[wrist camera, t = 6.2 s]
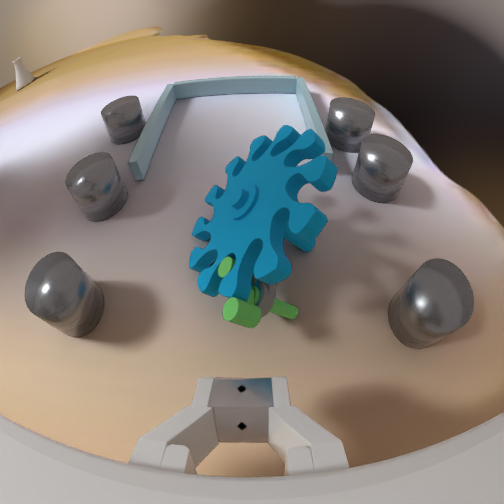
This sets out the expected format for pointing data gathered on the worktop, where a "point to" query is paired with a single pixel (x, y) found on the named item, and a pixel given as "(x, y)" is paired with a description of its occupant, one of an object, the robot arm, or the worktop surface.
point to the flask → (22, 74)
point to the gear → (261, 224)
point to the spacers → (364, 180)
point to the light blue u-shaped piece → (219, 87)
